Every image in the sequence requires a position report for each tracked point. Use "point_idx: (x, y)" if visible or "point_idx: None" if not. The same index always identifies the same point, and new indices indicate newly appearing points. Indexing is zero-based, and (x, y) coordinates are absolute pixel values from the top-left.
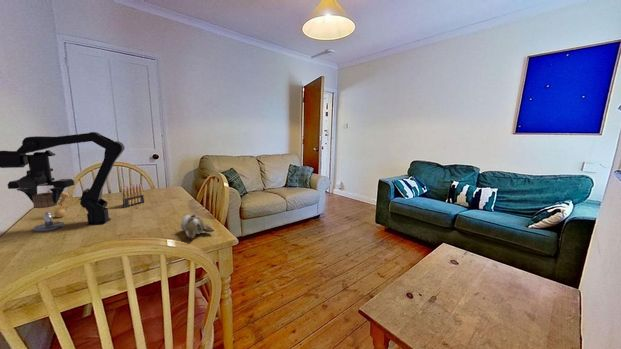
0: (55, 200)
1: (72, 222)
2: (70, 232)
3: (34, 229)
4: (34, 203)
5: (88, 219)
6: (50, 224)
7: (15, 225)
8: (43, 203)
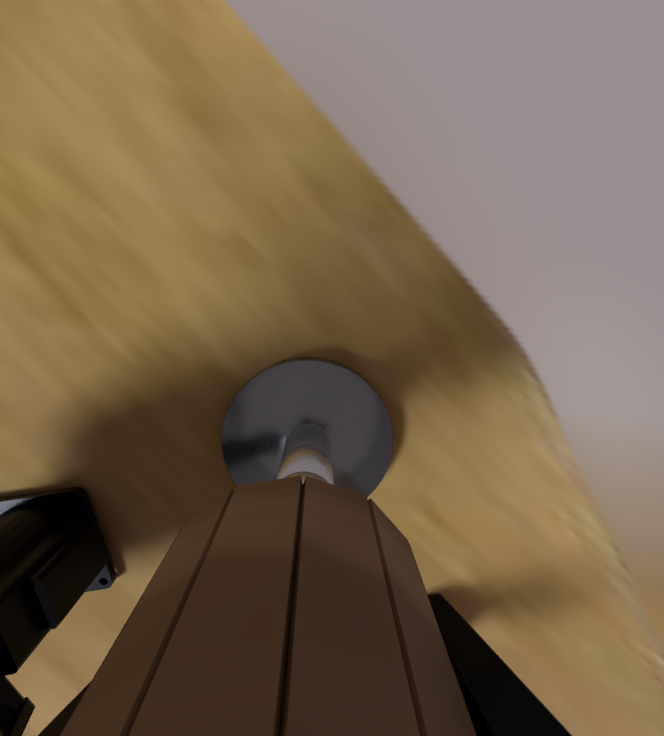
0: (75, 697)
1: None
2: (72, 348)
3: (345, 369)
4: (348, 545)
5: (72, 537)
6: (287, 442)
7: (578, 480)
8: (188, 557)
